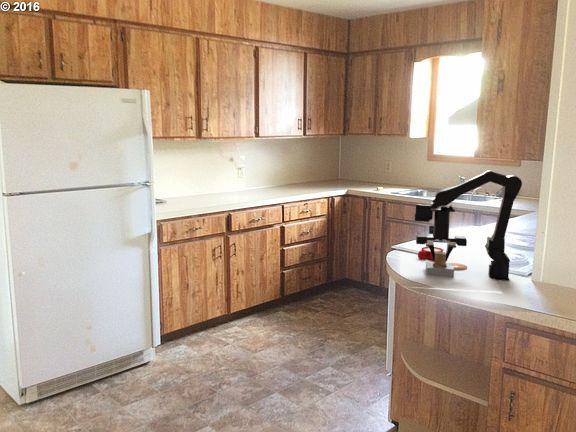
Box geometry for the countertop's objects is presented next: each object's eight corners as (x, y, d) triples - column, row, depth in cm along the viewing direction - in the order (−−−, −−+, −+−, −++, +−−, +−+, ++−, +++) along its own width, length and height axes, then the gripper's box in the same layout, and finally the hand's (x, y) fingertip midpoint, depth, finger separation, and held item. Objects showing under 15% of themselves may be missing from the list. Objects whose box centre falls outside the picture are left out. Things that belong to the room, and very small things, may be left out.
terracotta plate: (465, 266, 219) (465, 263, 219) (468, 271, 211) (468, 269, 211) (443, 264, 221) (443, 262, 221) (444, 270, 213) (444, 268, 212)
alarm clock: (447, 248, 236) (439, 247, 223) (446, 262, 236) (438, 262, 223) (424, 245, 241) (415, 244, 228) (423, 259, 241) (413, 259, 228)
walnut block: (444, 271, 209) (445, 252, 208) (445, 274, 205) (445, 254, 204) (433, 271, 210) (434, 251, 209) (434, 273, 206) (435, 253, 205)
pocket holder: (451, 271, 212) (451, 262, 211) (453, 278, 202) (454, 269, 201) (425, 270, 214) (425, 261, 213) (426, 276, 204) (427, 268, 204)
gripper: (464, 219, 210) (462, 257, 213) (416, 218, 214) (414, 255, 217) (467, 224, 200) (465, 264, 202) (417, 223, 203) (415, 262, 206)
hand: (439, 261), depth 207 cm, fingers closed on walnut block, 4 cm apart
